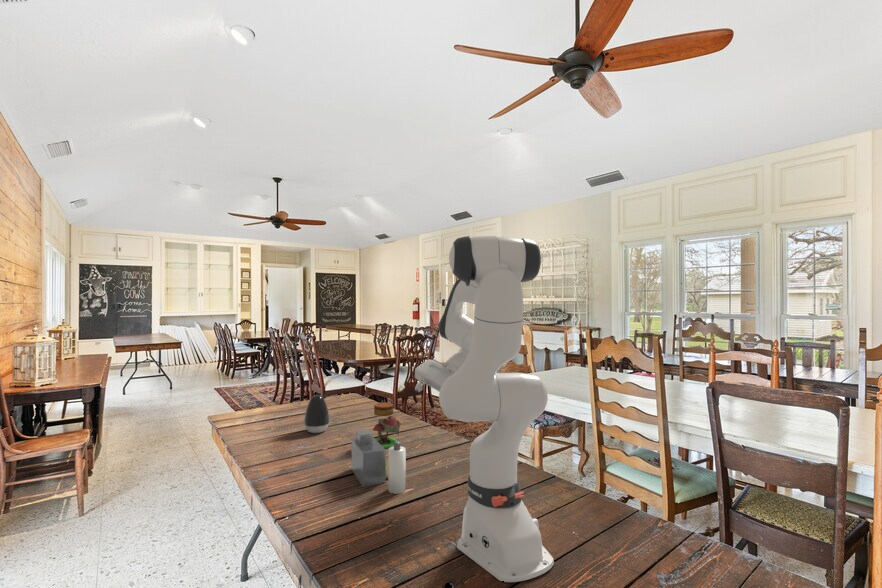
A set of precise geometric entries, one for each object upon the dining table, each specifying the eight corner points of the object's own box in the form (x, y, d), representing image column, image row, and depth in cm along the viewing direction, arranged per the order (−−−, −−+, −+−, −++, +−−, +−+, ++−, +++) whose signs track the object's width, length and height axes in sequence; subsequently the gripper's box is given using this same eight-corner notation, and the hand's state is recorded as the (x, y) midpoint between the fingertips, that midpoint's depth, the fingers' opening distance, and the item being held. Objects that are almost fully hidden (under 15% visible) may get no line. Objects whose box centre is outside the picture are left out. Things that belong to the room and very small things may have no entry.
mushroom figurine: (392, 451, 154) (392, 410, 154) (362, 446, 159) (362, 406, 159) (406, 440, 165) (406, 402, 165) (378, 436, 170) (378, 399, 170)
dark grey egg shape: (335, 430, 178) (335, 394, 178) (315, 437, 169) (315, 399, 169) (318, 425, 183) (318, 390, 183) (298, 432, 175) (299, 395, 174)
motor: (403, 478, 131) (404, 437, 131) (363, 487, 126) (363, 443, 126) (387, 460, 146) (387, 422, 146) (350, 467, 140) (350, 428, 140)
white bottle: (407, 491, 123) (408, 443, 123) (391, 495, 121) (391, 446, 121) (401, 484, 127) (402, 438, 127) (386, 488, 125) (386, 441, 125)
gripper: (430, 350, 138) (402, 374, 128) (483, 377, 127) (456, 405, 118) (430, 364, 141) (403, 389, 132) (482, 392, 131) (456, 420, 121)
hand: (429, 397), depth 125 cm, fingers open, 8 cm apart
